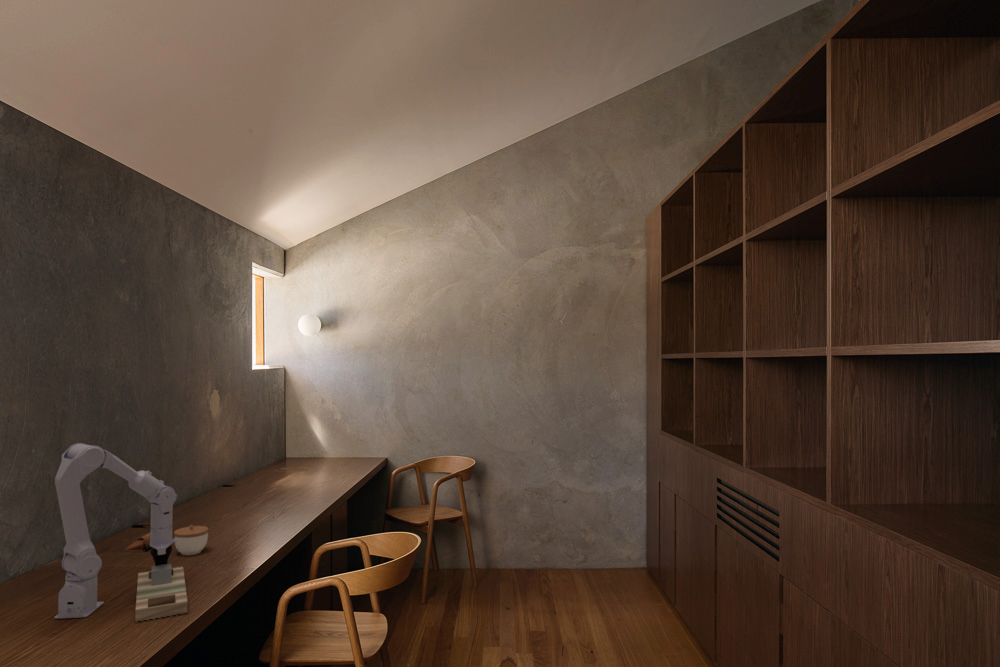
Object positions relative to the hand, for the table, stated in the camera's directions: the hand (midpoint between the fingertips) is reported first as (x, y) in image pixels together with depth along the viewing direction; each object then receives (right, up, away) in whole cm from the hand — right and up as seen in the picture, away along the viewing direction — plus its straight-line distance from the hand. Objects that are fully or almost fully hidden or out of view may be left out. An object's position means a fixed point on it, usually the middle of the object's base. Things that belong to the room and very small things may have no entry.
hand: (161, 572), depth 191 cm
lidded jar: (-6, -5, +32) cm, 33 cm away
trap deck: (+4, -4, -8) cm, 10 cm away
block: (+2, -1, -4) cm, 5 cm away
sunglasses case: (-27, -6, +42) cm, 50 cm away
